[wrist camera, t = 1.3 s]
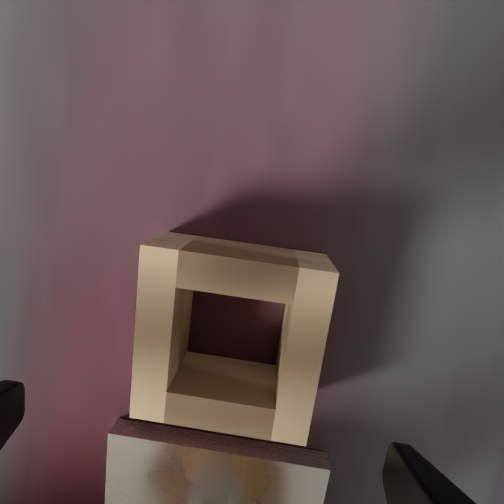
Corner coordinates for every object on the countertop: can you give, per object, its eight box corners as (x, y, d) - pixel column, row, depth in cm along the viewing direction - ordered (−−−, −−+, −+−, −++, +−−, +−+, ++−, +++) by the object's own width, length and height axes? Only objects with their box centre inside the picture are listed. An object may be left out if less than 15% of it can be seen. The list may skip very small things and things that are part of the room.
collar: (300, 395, 15) (306, 446, 12) (157, 372, 15) (129, 417, 12) (325, 253, 14) (339, 273, 11) (168, 231, 14) (139, 244, 11)
